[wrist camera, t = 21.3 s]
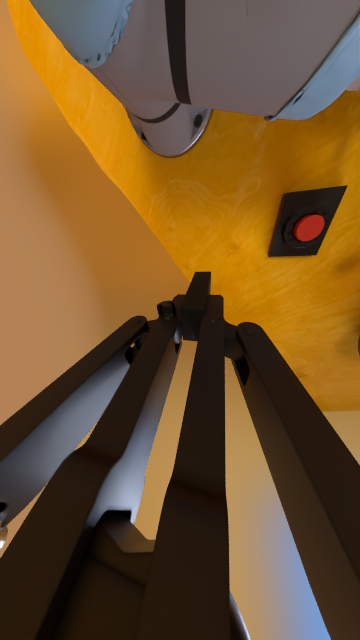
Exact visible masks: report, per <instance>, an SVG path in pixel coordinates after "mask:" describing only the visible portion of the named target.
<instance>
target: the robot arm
mask: <svg viewBox="0 0 360 640" xmlns="http://www.w3.org/2000/svg"><path fill="white" fill-rule="evenodd" d="M30 2H31V3H32V5H33V6H34V8H35V9H36V11H37V12H38V14H39V15H40V16H41V18H42V19H43V20H44V21H45V23H46V24H47V25H48V26H49V28H50V29H51V30H52V31H53V33H54V34H55V35H56V36H57V38H58V39H59V40H60V41H61V43H62V44H63V45H64V47H65V48H66V50H67V51H68V52H69V53H70V54H71V56H72V57H73V58H74V59H75V60H77V61H78V62H79V63H80V64H82V65H84V66H85V67H86V68H87V69H88V70H89V71H90V72H91V73H92V74H93V75H94V76H95V77H96V78H97V79H98V80H99V81H100V82H101V83H102V84H103V85H104V86H105V87H106V88H107V89H108V90H109V91H110V92H111V93H112V94H113V95H114V96H115V97H116V98H117V99H118V100H119V101H120V102H121V103H122V104H123V106H125V107H124V108H126V109H125V110H127V111H126V112H127V113H128V114H127V115H128V117H129V119H130V121H131V124H132V125H133V127H134V129H135V131H136V133H137V134H138V136H139V137H140V139H141V140H142V141H143V143H144V144H145V145H146V146H147V147H148V148H149V149H151V150H152V151H153V152H154V153H156V154H157V155H159V156H162V157H165V158H176V157H179V156H182V155H184V154H185V153H187V152H188V151H190V150H191V149H192V148H193V147H194V146H195V145H196V144H197V142H198V141H199V140H200V138H201V137H202V135H203V133H204V132H205V130H206V128H207V125H208V123H209V121H210V118H211V115H212V113H213V109H217V110H223V111H230V112H236V113H243V114H250V115H256V116H263V117H264V119H265V120H266V121H274V120H277V119H289V120H305V119H309V118H311V117H313V116H314V115H315V114H317V113H318V112H320V111H323V110H324V109H325V108H327V107H328V106H329V105H330V104H331V103H332V102H333V101H335V100H336V99H337V98H338V97H339V96H340V95H341V94H342V93H343V92H344V91H345V90H346V89H347V88H348V86H349V85H350V84H351V83H352V82H353V81H354V80H355V79H356V78H357V77H358V75H359V74H360V0H30ZM210 286H211V272H195V274H194V276H193V279H192V281H191V283H190V286H189V288H188V291H187V293H186V295H180V294H178V295H177V296H175V297H174V299H173V300H172V301H164V302H161V303H159V304H158V305H157V310H158V314H159V317H158V319H156V320H151V321H147V319H146V317H144V316H135V317H132V318H131V319H129V320H128V321H127V322H125V323H124V324H123V325H122V326H121V327H119V328H118V329H117V330H116V331H114V332H113V333H112V334H111V335H110V336H108V337H107V338H106V339H105V340H103V341H102V342H101V343H100V344H99V345H97V346H96V347H95V348H94V349H93V350H91V351H90V352H89V353H88V354H87V355H85V356H84V357H83V358H82V359H80V360H79V361H78V362H77V363H76V364H75V365H73V366H72V367H71V368H69V369H68V370H67V371H66V372H65V373H63V374H62V375H61V376H60V377H59V378H57V379H56V380H55V381H54V382H52V383H51V384H50V385H49V386H48V387H46V388H45V389H44V390H43V391H42V392H40V393H39V394H38V395H37V396H35V397H34V398H33V399H32V400H31V401H30V402H28V403H27V404H26V405H25V406H23V407H22V408H21V409H20V410H18V411H17V412H16V413H15V414H14V415H12V416H11V417H10V418H9V419H7V420H6V421H5V422H4V423H3V424H2V425H0V548H1V547H2V546H3V544H4V542H5V540H6V537H7V533H8V529H7V527H6V525H7V524H8V523H10V521H12V520H13V519H14V518H15V517H16V516H17V515H18V514H19V513H20V512H21V511H22V510H23V509H24V508H25V507H26V506H27V505H28V504H29V503H30V502H31V501H32V500H33V499H34V498H35V497H36V495H38V493H39V492H40V491H41V490H42V489H43V487H44V486H45V485H46V484H47V483H48V484H47V485H46V487H45V489H44V490H43V492H42V493H41V495H40V497H39V498H38V500H37V501H36V503H35V504H34V506H33V508H32V509H31V511H30V512H29V514H28V516H27V517H26V519H25V520H24V522H23V524H22V525H21V527H20V528H19V530H18V531H17V533H16V535H15V536H14V538H13V539H12V541H11V543H10V544H9V546H8V547H7V549H6V551H5V552H4V554H3V555H2V557H1V558H0V640H251V639H250V637H249V634H248V631H247V629H246V626H245V623H244V621H243V619H242V616H241V614H240V611H239V609H238V607H237V604H236V602H235V600H234V598H233V596H232V594H231V592H230V590H229V534H228V511H227V501H226V488H225V360H224V359H225V358H224V357H227V358H230V359H231V361H232V364H233V367H234V370H235V373H236V376H237V378H238V381H239V384H240V387H241V390H242V392H243V396H244V398H245V401H246V404H247V407H248V410H249V413H250V415H251V418H252V421H253V424H254V427H255V430H256V432H257V435H258V438H259V441H260V444H261V447H262V450H263V453H264V455H265V458H266V460H267V464H268V467H269V470H270V472H271V475H272V478H273V481H274V484H275V487H276V490H277V493H278V495H279V498H280V501H281V504H282V507H283V510H284V512H285V515H286V518H287V521H288V524H289V527H290V530H291V532H292V535H293V538H294V541H295V544H296V547H297V550H298V552H299V555H300V557H301V561H302V564H303V566H304V569H305V572H306V575H307V578H308V581H309V584H310V586H311V589H312V592H313V594H314V597H315V599H316V602H317V605H318V607H319V610H320V613H321V615H322V618H323V621H324V623H325V626H326V628H327V631H328V633H329V635H330V637H331V640H360V465H359V464H358V463H357V461H356V460H355V458H354V457H353V455H352V454H351V453H350V451H349V450H348V448H347V447H346V445H345V444H344V443H343V441H342V440H341V438H340V437H339V436H338V434H337V433H336V431H335V430H334V429H333V427H332V426H331V424H330V423H329V422H328V420H327V419H326V417H325V416H324V415H323V413H322V412H321V410H320V409H319V408H318V406H317V405H316V403H315V402H314V400H313V399H312V398H311V396H310V395H309V393H308V392H307V391H306V389H305V388H304V386H303V385H302V384H301V382H300V381H299V379H298V378H297V377H296V375H295V374H294V372H293V371H292V370H291V368H290V367H289V365H288V364H287V363H286V361H285V360H284V358H283V357H282V355H281V354H280V353H279V351H278V350H277V348H276V347H275V346H274V344H273V343H272V341H271V340H270V339H269V337H268V336H267V334H266V333H265V332H264V330H263V329H262V328H261V327H260V326H259V325H257V324H255V323H251V322H243V323H240V324H239V325H238V326H235V325H232V324H229V323H227V322H226V321H225V320H224V317H223V297H222V296H221V295H210ZM182 336H183V340H189V341H198V343H197V348H196V354H195V359H194V364H193V369H192V375H191V380H190V385H189V390H188V396H187V401H186V406H185V411H184V416H183V422H182V427H181V432H180V437H179V443H178V449H177V453H176V459H175V464H174V469H173V473H172V477H171V479H170V482H169V484H168V487H167V491H166V494H165V498H164V502H163V507H162V511H161V516H160V521H159V526H158V531H157V535H156V540H148V539H146V538H145V537H144V536H143V535H142V534H141V532H140V531H139V530H138V529H137V528H136V527H135V526H134V522H135V518H136V515H137V511H138V507H139V504H140V500H141V497H142V493H143V487H144V478H145V470H146V466H147V462H148V459H149V455H150V452H151V449H152V445H153V442H154V438H155V435H156V432H157V428H158V425H159V421H160V418H161V414H162V411H163V407H164V404H165V401H166V397H167V394H168V390H169V387H170V384H171V380H172V377H173V373H174V370H175V366H176V363H177V359H178V356H179V353H180V349H181V346H182V341H181V339H182ZM133 343H134V346H133V347H132V348H131V345H132V344H133ZM100 417H101V418H100ZM99 418H100V419H99ZM98 420H99V421H98ZM97 421H98V423H97V425H96V426H95V428H94V430H93V432H92V433H91V435H90V437H89V438H88V440H87V441H86V443H85V444H84V445H83V446H82V447H80V448H78V449H77V450H75V448H76V447H77V446H78V445H79V443H80V442H81V441H82V439H83V438H84V437H85V436H86V435H87V433H88V432H89V431H90V430H91V428H92V427H93V426H94V425H95V423H96V422H97ZM74 450H75V451H74Z"/></svg>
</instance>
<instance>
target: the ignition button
mask: <svg viewBox="0 0 360 640" xmlns="http://www.w3.org/2000/svg"><path fill="white" fill-rule="evenodd" d="M324 223H325V222H324V218H323V217H322V216H320V215H313V214H311V215H307V216H304V217H303V218H301V219H300V220H299V221H298V222H297V223H296V225H295V226H294V229H293V235H294V237H295V238H297V239H299V240H301V241H309V240H311V239H313V238H315V237H316V236H318V235H319V234H320V232H321V231H322V229H323V227H324Z"/></svg>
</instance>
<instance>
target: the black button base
mask: <svg viewBox="0 0 360 640" xmlns="http://www.w3.org/2000/svg"><path fill="white" fill-rule="evenodd" d="M346 188H347V186H339V187H331V188H323V189H315V190H307V191H299V192H290V193H284V194H283V198H282V201H281V205H280V209H279V213H278V217H277V221H276V225H275V228H274V232H273V236H272V240H271V244H270V248H269V252H268V256H269V257H279V256H311V255H317V253H318V250H319V248H320V246H321V244H322V241H323V239H324V237H325V235H326V233H327V230H328V228H329V226H330V224H331V221H332V219H333V217H334V215H335V213H336V210H337V208H338V206H339V204H340V201H341V199H342V197H343V195H344V193H345V190H346ZM311 214H313V215H320V216H322V217H323V218H324V222H325V223H324V227H323V229H322V231H321V232H320V234H319V235H318V236H316V237H315V238H313V239H311V240H309V241H301V240H299V239H297V238H295V237H294V235H293V229H294V226H295V225H296V223H297V222H298V221H299V220H300V219H301V218H303V217H304V216H307V215H311Z"/></svg>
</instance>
